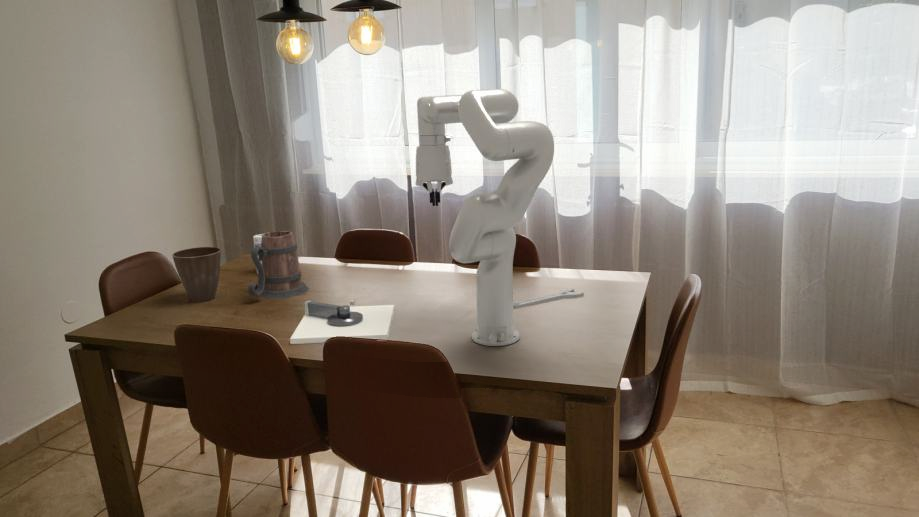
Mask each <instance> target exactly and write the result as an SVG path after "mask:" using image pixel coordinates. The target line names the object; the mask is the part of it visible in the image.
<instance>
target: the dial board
mask: <svg viewBox="0 0 919 517" xmlns="http://www.w3.org/2000/svg"><path fill="white" fill-rule="evenodd" d="M355 304H356V298H351V299H350V301H349V306H350V311H351V312H359V313H361V314H362V315H363V320H362V321H361V322H360V323H358V324H355V325H350V326H332V325H330V324H328V320H327V318H325V317H319V316H313V315H306V314H304V315H303V317H302V319H301V320H300V322H299V323H298V325H297V327H296V328H295V330H294V332H293V333H292V335H291V336H290V338H289V341H290V342H289V343H290V345H299V344H302V345H304V344H325V343H324V342H325V341H326V340H327V339H329V338H331V337H336V336H345V337H361V338H376V339H388V340H389V335H390V331H391V328H392V327H391V326H392V323H393V318H394V315H395V311H396V310H395V304H381V305H359V306H358V305H357V306H356V305H355Z"/></svg>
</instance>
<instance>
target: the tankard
mask: <svg viewBox="0 0 919 517" xmlns="http://www.w3.org/2000/svg"><path fill="white" fill-rule="evenodd" d="M261 234H262V240H261V246H260V247H254V246H253V248H252V249H251V253H250V257H251V260H252V262H253V264H254V266H255V267H256V272H257V271H258V274H257V277H258V279H257V280H258V281H257V283H256V282H251V283H249V284H248V287H247V289H248V292H249V294H250V295H252V296H257V297H258V296H259V298H263V299H270V300H271V299H273V300H277V299H280V300H281V299H287V298H288V299H289V298H294V297H297V296H301V295H303V294H306V293H307V292H308V291H309V289H310V288H309V287H308V286H307V285H306V283H305V282H303V281H302V271H301V269H300V261H299V256H298V255H299V254H298V244H297V242H296V240H295V239H296V238H295V235H294V233H293V231H289V230H281V231H280V230H279V231H268V232H264V233H261ZM258 255H259V258H258ZM259 260H260V261H262V264H261V262H260V261H259Z"/></svg>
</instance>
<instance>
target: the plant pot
mask: <svg viewBox="0 0 919 517" xmlns="http://www.w3.org/2000/svg"><path fill="white" fill-rule="evenodd" d="M221 252H222V250H221V248H220V247H216V246H200V247H192V248H191V247H190V248H186V249H181V250H178V251H175V252H173V253H172V255H171V256H172V259H173V263H174V266H175V269H176V272H177V275H178V277H179V280H180V282H181V284H182V286H183V288H184V290H185V292H186V293H187V295H188V297H189V299H190V301H191V302H195V303H200V302H201V303H202V302H207V301H210V300H211V301H212V300H214V299H215V297H216V295H217V294H216V293H217V290H218V286H219V279H220V271H221V259H222V258H221Z"/></svg>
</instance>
